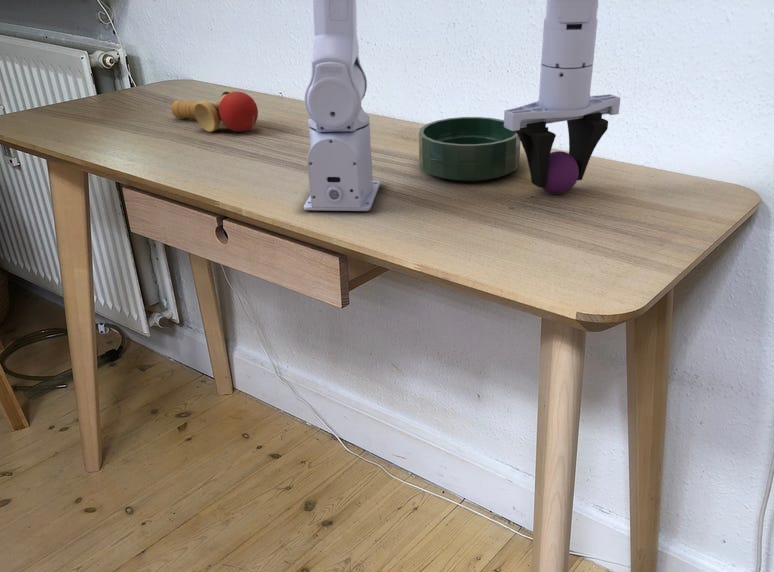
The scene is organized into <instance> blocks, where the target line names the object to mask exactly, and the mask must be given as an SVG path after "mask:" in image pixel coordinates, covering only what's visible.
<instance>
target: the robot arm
mask: <svg viewBox="0 0 774 572" xmlns="http://www.w3.org/2000/svg"><path fill="white" fill-rule="evenodd" d="M598 9H599V0H546V10H545V11H546V12H545V17H544V20H543V30H542V44H541V46H542V47H541V61H540V62H541V63H540V76H539V89H538V91H539V92H538V100H537V101H534V102H531V103H530V102H529V103H527V104H524V105H521V106H517V107H515V108H514V107H513V108H509V109H505V110H503V111H504V115H503V120H504V127H505V128H507V129H509V130H511V131H516V133H517V134H518V136H519V138H520V141H521V142H520V144H521V145H522V147H523V150H524V153H525V157H526V160H527V164H528V168H529V169H528V170H529V175H530V181H531V184H532V185H534V186H535V187H538V188H540V189H541V188H542V187H545V185H546V181H547V174H548V162H549V157H550V153H552V152H551V151H552V148H553V145H554V142H555V139H556V137H557V134H556V133H554V132H553V131H550V130H549V126H547V125H548V124H554V123H560V122H566V125H567V132H568V154H570V155H571V156H572V157H573V158H574V159H575V160H576V162H577V164H578V167H579V175H578V179H577V181H582V180H583V178H584V176H585V172H586V169H587V167H588V165H589V161H590V159H591V158H592V155H593V153H594V151H595V148H596V147H597V145H598V144H599V142H600V140H601V138H602V137H603V136H604V134H605V133H606V132H607V131H608V128H609V121H608V120H607V119H606V118H603V116H604V115H610V116H614V115H619V114H620V108H621V107H620V106H621V97H620V96H617V95H614V94H611V93H609V94H599V95H591V89H592V80H593V79H592V78H593V70H594V69H593V68H594V59H595V49H596V40H597V31H598V29H597V28H598V17H597V16H598ZM312 11H313V32H314V33H313V36H314V37H313V46H312V52H311V53H312V54H311V76H310V79H309V82H308V84H307V86H306V88H305V91H304V106H305V110H306V112H307V114H308V116H309V118H308V119H307V123H308V135H309V141H310V142H309V143H310V149H309V151H308V154H307V159H306V163H307V173H308V174H307V175H308V183H309V184H308V186H309V194H310V195H309V197H308V198H307V199H306V201H305V203H304V205H303V210H304V211H323V212H324V211H327V212H328V211H329V212H330V211H331V212H335V211H336V212H369V211H370V210H371V209H372V206H373V204H374V201H375V199H376V196H377V194H378V191H379V188H380V186H381V181H380V180H374V179H373V178H374V177H373V160H372V159H373V158H372V157H373V156H372V141H371V140H372V139H371V123H370V121H371V120H370V115H368V114H367V113H366V112H365V110H364V109H363V106H362V102H363V99H364V98H365V96H366V93H367V90H368V89H367V88H368V79H367V76H366V73H365V71H364V69H363V67H362V64H361V62H360V61H361V60H360V55H359V53H360V52H359V51H360V50H359V49H360V47H359V41H358V32H357V30H358V29H357V27H358V25H357V24H358V23H357V0H312ZM542 189H543V188H542Z"/></svg>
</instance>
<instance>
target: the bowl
mask: <svg viewBox="0 0 774 572" xmlns="http://www.w3.org/2000/svg"><path fill="white" fill-rule="evenodd" d="M520 158H521V141H520V138H519V136H518V134H517V133H516V131H511V130H509V129H507V128H505V127H504V119H499V118H494V117H483V116H459V117H449V118H444V119H443V118H442V119H438V120H434V121H431V122H429V123H426V124H424V125H423V126H422V127H420V128H419V132H418V163H419V164H418V165H419V167H420V169H421V170H422V171H423V172H425V173H427V174H429V175H431V176H434V177H438V178H441V179H444V180H449V181H454V182H455V181H456V182H483V181H489V180H494V179H497V178H499V177H505V176H508V175H509V174H511V173H513V172H515V171H516V170H517V169H518V168H519V167H520V161H521V160H520Z"/></svg>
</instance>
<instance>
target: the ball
mask: <svg viewBox="0 0 774 572" xmlns="http://www.w3.org/2000/svg"><path fill="white" fill-rule="evenodd" d="M578 175H579V167H578V164H577V162H576V160H575V159H574V158H573V157H572V156H571V155H570V154H569V152H566V151H563V150H559V151H558V150H557V151H552V152H550V157H549V162H548V174H547V181H546V185H545V187H542V189H543V190H544V191H545V192H547V193H550V194H553V195H560V194H564V193H567V192H568V191H570V190H571V189H572V188H573V187H574V186H575V185H576V183H577V181H578V180H577V179H578Z"/></svg>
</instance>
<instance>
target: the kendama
mask: <svg viewBox="0 0 774 572" xmlns="http://www.w3.org/2000/svg"><path fill="white" fill-rule="evenodd" d="M257 105H258V104H257V103H256V102H255V99H254V98H252V97H251V96H250V95H249V94H247V93H246V92H243V91H235V90H234V89H227V90H224V91H223V92H222V94H221V96H220V99H219V100H217V101H216V102H213V103H212V102H210V101H208V100H205V99H202V100H199V101H191V100H190V101H189V100H183V99H176V100H174V101H173V103H172V104H171V113H172V115H173V116H174V117H175V119H178V120H180V119H190V118H195V120H196V121H197V123H198V125H199V126H200V127H201V128H202V129H203V130H205V132H208V133H212V132H215V131H217V130H219V128H220V127H221V122H222V124H223V125H224V126H225V127H226V128H227V129H229V130H231V131H232V132H238V133H241V132H243V133H244V132H246V131H250V130H251V129H253V127H254V126H255V125H256V123H257V120H258V117H259V109H258V106H257Z"/></svg>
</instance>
